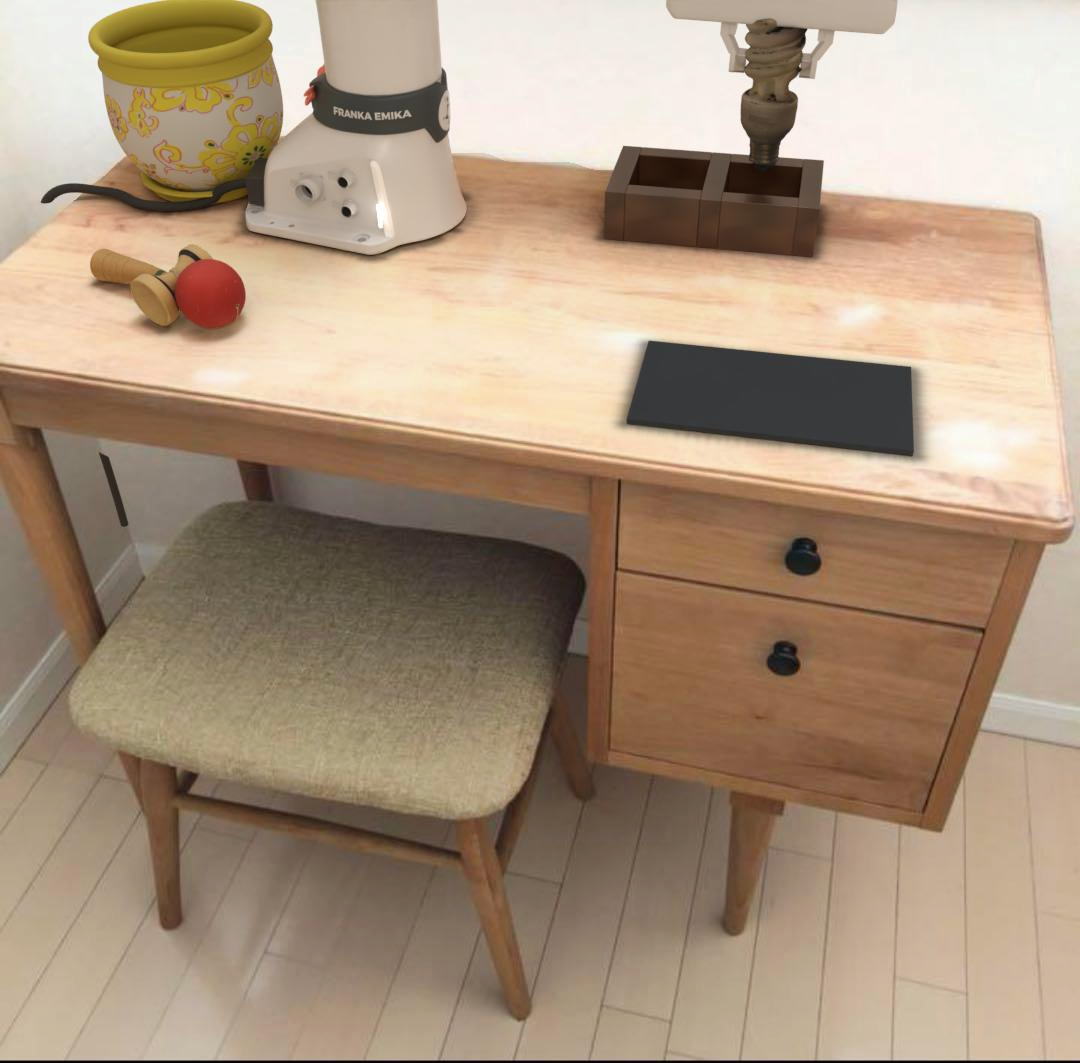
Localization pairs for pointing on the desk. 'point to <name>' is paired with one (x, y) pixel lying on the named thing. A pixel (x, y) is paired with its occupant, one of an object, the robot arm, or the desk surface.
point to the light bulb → (770, 88)
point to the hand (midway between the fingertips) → (771, 73)
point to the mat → (775, 397)
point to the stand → (713, 201)
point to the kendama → (177, 286)
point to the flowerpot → (190, 92)
